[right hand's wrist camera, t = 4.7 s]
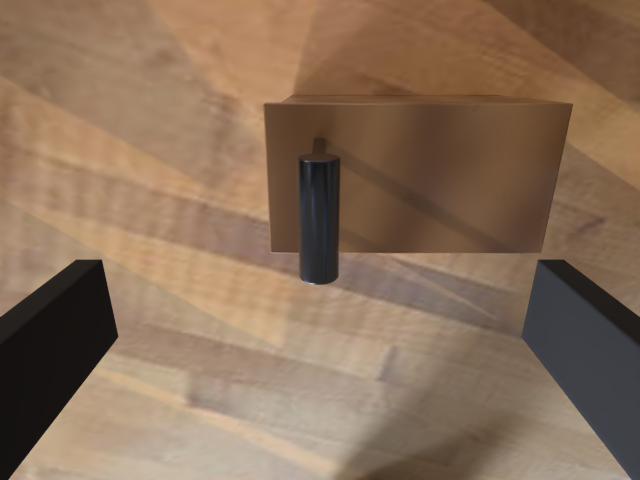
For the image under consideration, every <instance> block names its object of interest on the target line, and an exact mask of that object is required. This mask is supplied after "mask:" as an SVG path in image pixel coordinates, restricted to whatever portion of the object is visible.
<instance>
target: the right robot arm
mask: <svg viewBox="0 0 640 480" xmlns="http://www.w3.org/2000/svg"><path fill="white" fill-rule="evenodd" d="M117 338H118V333H117V328H116V324H115V319H114V314H113V310H112V305H111V300H110V296H109V291H108V286H107V282H106V277H105V272H104V268H103V263H102V260H75V261H74V262H73V263H71V264H70V265H69V266H67V267H66V268H65V269H63V270H62V271H61V272H59V273H58V274H57V275H55V276H54V277H53V278H51V279H50V280H49V281H48V282H46V283H45V284H44V285H42V286H41V287H40V288H38V289H37V290H36V291H34V292H33V293H32V294H30V295H29V296H28V297H26V298H25V299H24V300H22V301H21V302H20V303H18V304H17V305H16V306H14V307H13V308H12V309H10V310H9V311H8V312H7V313H5V314H4V315H3V316H1V317H0V480H8V479H9V478H10V477H11V475H12V474H13V473H14V472H15V470H16V469H17V468H18V466H19V465H20V464H21V462H22V461H23V460H24V459H25V457H26V456H27V455H28V453H29V452H30V451H31V450H32V448H33V447H34V446H35V444H36V443H37V442H38V440H39V439H40V438H41V437H42V435H43V434H44V433H45V431H46V430H47V429H48V427H49V426H50V425H51V424H52V422H53V421H54V420H55V418H56V417H57V416H58V415H59V413H60V412H61V411H62V409H63V408H64V407H65V405H66V404H67V403H68V402H69V400H70V399H71V398H72V396H73V395H74V394H75V392H76V391H77V390H78V389H79V387H80V386H81V385H82V383H83V382H84V381H85V380H86V378H87V377H88V376H89V374H90V373H91V372H92V370H93V369H94V368H95V367H96V365H97V364H98V363H99V361H100V360H101V359H102V357H103V356H104V355H105V354H106V352H107V351H108V350H109V348H110V347H111V346H112V345H113V343H114V342H115V341H116V339H117ZM522 338H523V339H524V341H525V342H526V343H527V345H528V346H529V347H530V348H531V350H532V351H533V352H534V354H535V355H536V356H537V357H538V359H539V360H540V361H541V363H542V364H543V365H544V367H545V368H546V369H547V370H548V372H549V373H550V374H551V376H552V377H553V378H554V380H555V381H556V382H557V383H558V385H559V386H560V387H561V389H562V390H563V391H564V392H565V394H566V395H567V396H568V398H569V399H570V400H571V402H572V403H573V404H574V405H575V407H576V408H577V409H578V411H579V412H580V413H581V415H582V416H583V417H584V418H585V420H586V421H587V422H588V424H589V425H590V426H591V427H592V429H593V430H594V431H595V433H596V434H597V435H598V437H599V438H600V439H601V440H602V442H603V443H604V444H605V446H606V447H607V448H608V450H609V451H610V452H611V453H612V455H613V456H614V457H615V459H616V460H617V461H618V462H619V464H620V465H621V466H622V468H623V469H624V470H625V472H626V473H627V474H628V475H629V477H630V478H631V479H632V480H640V317H639V316H637V315H636V314H635V313H633V312H632V311H631V310H630V309H628V308H627V307H626V306H624V305H623V304H622V303H620V302H619V301H618V300H616V299H615V298H614V297H612V296H611V295H610V294H608V293H607V292H606V291H604V290H603V289H602V288H600V287H599V286H598V285H596V284H595V283H594V282H592V281H591V280H590V279H589V278H587V277H586V276H585V275H583V274H582V273H581V272H579V271H578V270H577V269H575V268H574V267H573V266H571V265H570V264H569V263H567V262H566V261H565V260H538V263H537V268H536V272H535V277H534V282H533V286H532V291H531V296H530V300H529V305H528V310H527V314H526V319H525V324H524V328H523V333H522Z"/></svg>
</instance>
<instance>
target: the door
mask: <svg viewBox="0 0 640 480" xmlns="http://www.w3.org/2000/svg"><path fill="white" fill-rule="evenodd" d="M572 106H573V104H570V103H265V104H264V105H263V107H264V128H265V148H266V169H267V190H268V211H269V232H270V252H271V253H299V275H300V278H301V279H302V280H303V281H304V282H307V283H310V284H316V285H322V284H328V283H331V282H333V281H335V280H336V279H337V278H338V267H339V253H541V250H542V245H543V241H544V236H545V232H546V227H547V222H548V218H549V213H550V208H551V204H552V199H553V194H554V190H555V185H556V181H557V176H558V171H559V167H560V162H561V157H562V153H563V148H564V143H565V139H566V134H567V129H568V125H569V120H570V116H571V111H572Z"/></svg>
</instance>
